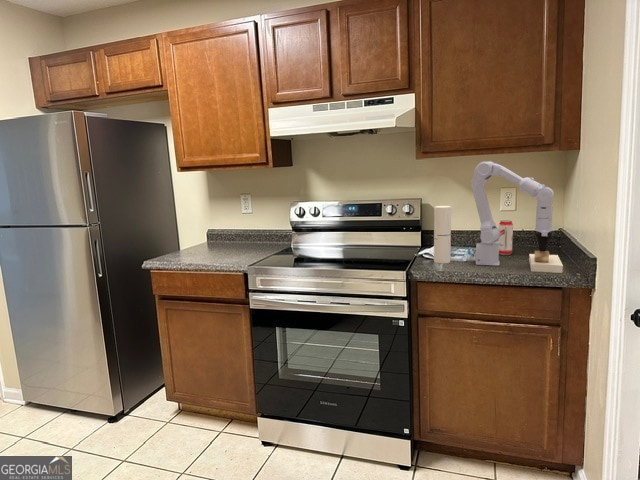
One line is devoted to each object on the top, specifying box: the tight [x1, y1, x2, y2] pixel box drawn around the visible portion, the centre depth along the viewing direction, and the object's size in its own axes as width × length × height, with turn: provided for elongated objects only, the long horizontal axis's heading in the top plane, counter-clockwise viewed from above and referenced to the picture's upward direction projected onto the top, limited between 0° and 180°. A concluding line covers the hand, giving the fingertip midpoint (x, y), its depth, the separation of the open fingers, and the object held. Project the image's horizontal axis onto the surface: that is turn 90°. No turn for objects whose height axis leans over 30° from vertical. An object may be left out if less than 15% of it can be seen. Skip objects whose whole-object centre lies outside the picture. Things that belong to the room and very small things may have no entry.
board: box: [528, 253, 564, 274], centre depth 180 cm, size 11×20×3 cm, turn 157°
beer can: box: [498, 219, 514, 256], centre depth 205 cm, size 6×6×16 cm
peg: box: [534, 250, 550, 263], centre depth 177 cm, size 5×5×7 cm
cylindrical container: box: [433, 205, 452, 264], centre depth 193 cm, size 7×7×25 cm
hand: (542, 250), depth 176 cm, fingers closed
